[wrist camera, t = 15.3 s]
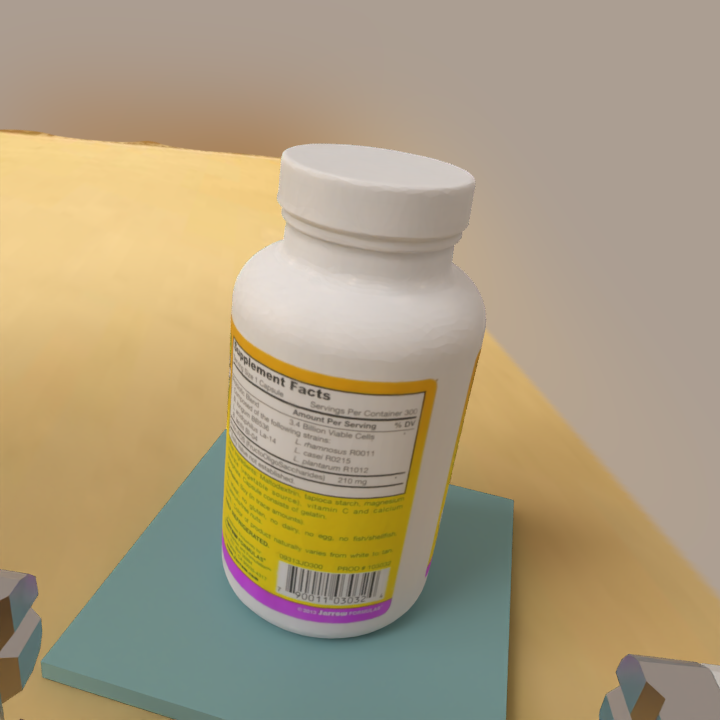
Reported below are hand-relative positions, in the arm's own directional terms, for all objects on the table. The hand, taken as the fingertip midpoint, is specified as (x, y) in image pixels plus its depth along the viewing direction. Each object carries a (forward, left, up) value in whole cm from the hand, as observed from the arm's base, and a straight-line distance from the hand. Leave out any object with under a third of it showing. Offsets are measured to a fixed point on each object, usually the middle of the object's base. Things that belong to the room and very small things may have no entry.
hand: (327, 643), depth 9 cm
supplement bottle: (-2, +10, -8) cm, 13 cm away
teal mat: (-2, +10, -9) cm, 13 cm away
